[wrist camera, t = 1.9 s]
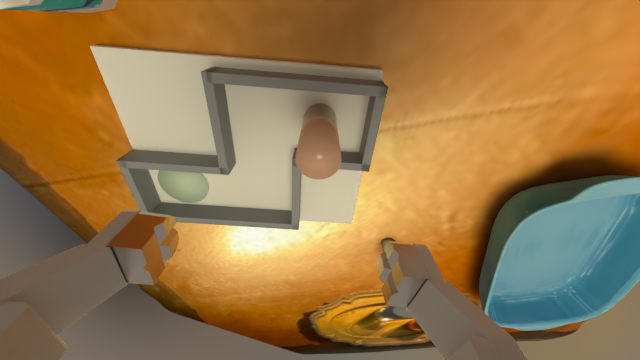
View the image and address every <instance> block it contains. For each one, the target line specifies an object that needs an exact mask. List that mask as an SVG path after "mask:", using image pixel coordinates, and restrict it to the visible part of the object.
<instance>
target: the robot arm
mask: <svg viewBox="0 0 640 360" xmlns="http://www.w3.org/2000/svg"><path fill="white" fill-rule="evenodd" d="M175 224H176V222H175V218H174V216H171V215H164V214H157V213H150V212H143V211H134V210H125V211H122V212H121V213H120V214H119V215H118V216H117V217H116V218H115V219H114V220H112V221H111V222H110V223H109V224H108V225H107V226H106V227H105V228H104V229H103V230H102V231H101V232H100V233H99V234H97V235H96V236H95V237H94V238H93V239H92V240H91V241H90V242H89V243H88V244H87V245H83V244H81V245H79V246H76V247H74V248H72V249H69V250H67V251H65V252H62V253H60V254H58V255H56V256H53V257H51V258H49V259H46V260H44V261H42V262H40V263H37V264H35V265H32V266H30V267H28V268H26V269H23V270H21V271H19V272H16V273H14V274H12V275H9V276H7V277H5V278H2V279H0V360H60V359H61V357H62V356H63V355H64V353H65V352H66V351H67V345H66V344H65V343H64V341H63V340H62V339H61V338H60V337H59V336H58V334H59V333H60V332H62V331H63V330H65V329H66V328H67V327H69V326H70V325H71V324H73V323H74V322H76V321H77V320H78V319H80V318H81V317H83V316H84V315H85V314H87V313H88V312H90V311H91V310H92V309H94V308H95V307H97V306H98V305H99V304H100V303H102V302H104V301H105V300H106V299H108V298H109V297H110V296H112V295H113V294H115V293H116V292H118V291H119V290H120V289H122V288H123V287H124V286H126V285H127V283H134V284H150V285H154V284H155V283H156V281H157V280H158V278H159V276H160V275H161V273H162V272H163V270H164V269H165V265H164V262H165V261H166V260H168V259H170V258H171V257H172V256H173V254H174V253H175V251H176V248H177V245H178V241H179V235H178V232H177V231H176V230H175V229H174V228H173V227H174V225H175ZM384 249H385V252H384V253H382V254H380V257H379V259H378V265H377V270H378V276H379V278H380V280H381V281H382V282H383V283H384V285H383V287H382V292H383V296H384V300H385V304H386V305H389V306H398V307H407V310H408V311H409V312H410V314H411V315H412V316H413V317H414V319H415V320H416V321H417V323H418V324H419V325H420V327H421V328H422V329H423V331H424V332H425V333H426V335H427V336H428V337H429V339H430V340H431V341H432V342H433V344H434V345H435V346H436V348H437V349H438V350H439V352H440V353H441V354H442V356H443V357H444V358H445V360H527V359H526V357H525V356H524V354H523V352H522V351H521V349H520V348H519V346H518V345H517V343H516V341H515V340H514V338H513V337H511V336H510V335H509V334H508V333H507V332H506V331H505V330H503V329H502V328H501V327H500V326H499V325H498V324H497V323H495V322H494V321H493V320H492V319H491V318H490V317H489V316H487V315H486V314H485V313H484V312H483V311H482V310H480V309H479V308H478V307H477V306H476V305H475V304H474V303H472V302H471V301H470V300H469V299H468V298H467V297H466V296H464V295H463V294H462V293H461V292H460V291H459V290H458V289H456V288H455V287H454V286H453V285H452V284H451V283H450V282H447V281H445V280H444V278H443V276H442V275H441V273H440V271H439V269H438V267H437V265H436V263H435V261H434V259H433V257H432V255H431V253H430V251H429V249H428V247H427V246H426V245H422V244H411V243H404V242H394V241H388V242H387V243H386V244H385V246H384Z"/></svg>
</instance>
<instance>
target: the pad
mask: <svg viewBox="0 0 640 360" xmlns="http://www.w3.org/2000/svg"><path fill="white" fill-rule="evenodd" d="M158 182H159V184H160V186H161V188H162V189H163V190H164V191H165V192H166V193H167V194H168V195H169V196H171V197H173V198H174V199H176V200H179V201H182V202H187V203H195V202H199V201H201V200H203V199H204V198H205V197H206V196H207V194H208V192H209V184H208V181H207V179H206V178H205V176H204V175H203V174H202V173H192V172H177V171H163V170H159V172H158Z"/></svg>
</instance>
